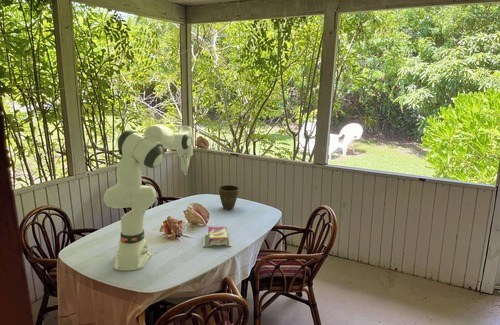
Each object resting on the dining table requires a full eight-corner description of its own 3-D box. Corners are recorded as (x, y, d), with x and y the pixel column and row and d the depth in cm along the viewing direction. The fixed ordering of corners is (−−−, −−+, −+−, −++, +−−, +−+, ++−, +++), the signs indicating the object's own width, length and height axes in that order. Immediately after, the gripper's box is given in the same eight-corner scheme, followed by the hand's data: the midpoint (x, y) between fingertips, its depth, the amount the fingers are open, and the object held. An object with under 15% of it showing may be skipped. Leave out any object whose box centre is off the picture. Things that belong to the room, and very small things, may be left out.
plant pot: (230, 203, 273) (231, 184, 270) (242, 209, 262) (243, 188, 259) (214, 207, 264) (214, 187, 260) (226, 213, 253) (226, 192, 249)
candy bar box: (226, 225, 217) (228, 237, 202) (225, 233, 219) (228, 245, 203) (207, 226, 216) (209, 238, 200) (207, 233, 217) (209, 246, 201)
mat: (230, 246, 202) (230, 245, 202) (203, 247, 200) (203, 246, 200) (229, 234, 218) (229, 234, 217) (203, 235, 216) (203, 234, 215)
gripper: (189, 156, 199) (190, 179, 202) (191, 149, 219) (191, 170, 222) (178, 156, 198) (178, 179, 201) (181, 149, 218) (181, 170, 221)
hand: (185, 174), depth 212 cm, fingers closed
